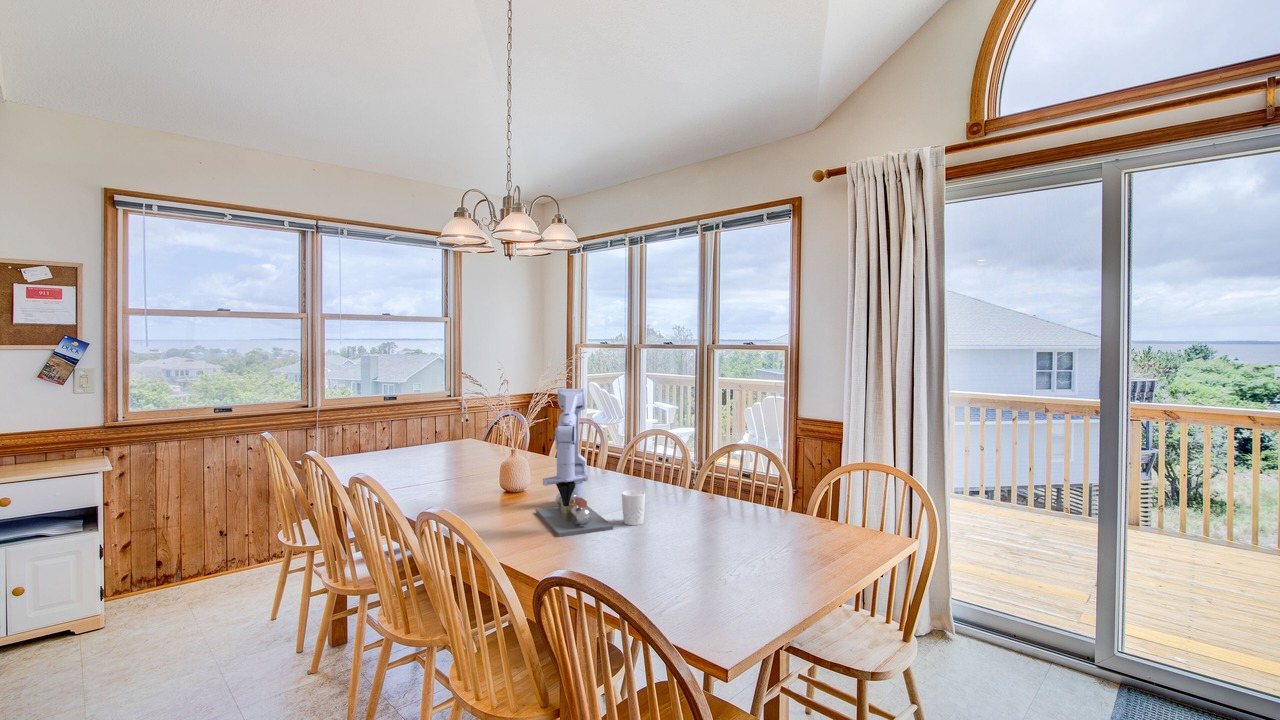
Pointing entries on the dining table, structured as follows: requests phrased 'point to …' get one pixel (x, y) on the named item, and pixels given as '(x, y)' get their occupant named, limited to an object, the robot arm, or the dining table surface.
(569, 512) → the valve body
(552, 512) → the mounting board
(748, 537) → the dining table surface
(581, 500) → the valve lever
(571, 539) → the dining table surface
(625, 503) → the white cup
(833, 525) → the dining table surface
